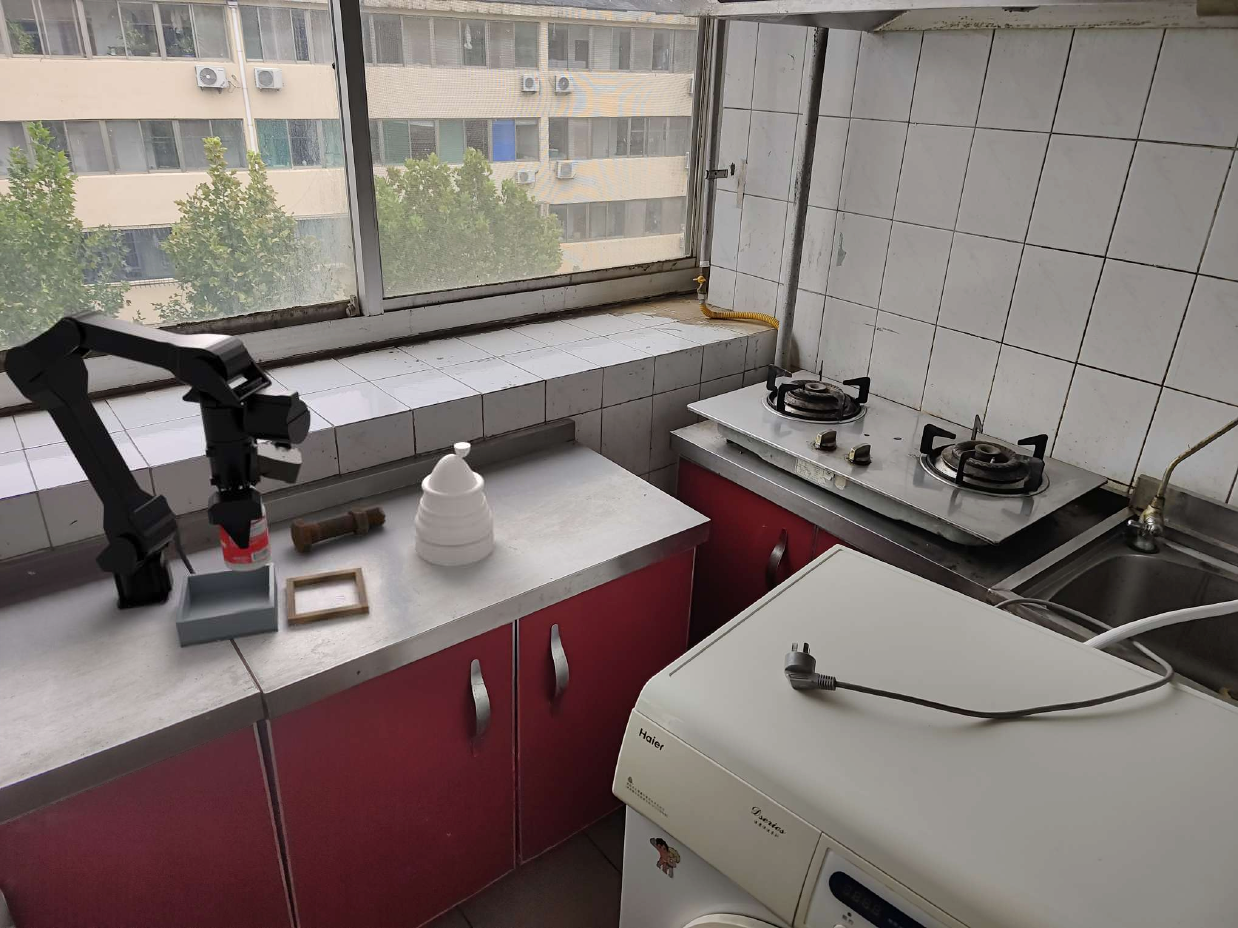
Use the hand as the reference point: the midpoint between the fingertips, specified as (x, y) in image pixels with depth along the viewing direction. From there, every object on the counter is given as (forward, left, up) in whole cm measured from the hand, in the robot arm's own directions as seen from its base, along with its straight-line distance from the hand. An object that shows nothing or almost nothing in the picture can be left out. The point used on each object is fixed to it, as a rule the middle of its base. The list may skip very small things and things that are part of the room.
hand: (244, 536), depth 115 cm
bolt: (+13, +18, -13) cm, 26 cm away
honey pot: (+31, +10, -12) cm, 35 cm away
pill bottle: (0, 0, -4) cm, 4 cm away
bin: (-3, 0, -12) cm, 13 cm away
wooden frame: (+10, 0, -12) cm, 16 cm away
